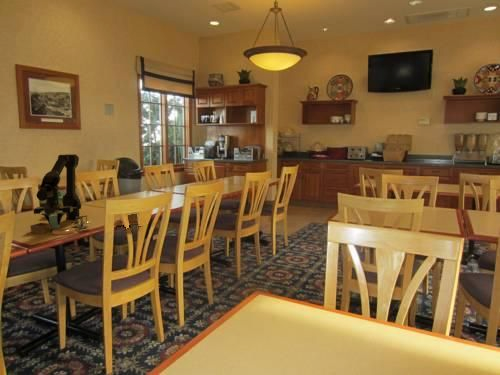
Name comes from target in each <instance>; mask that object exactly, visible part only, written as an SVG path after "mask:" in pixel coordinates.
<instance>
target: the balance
mask: <svg viewBox="0 0 500 375" xmlns="http://www.w3.org/2000/svg"><path fill="white" fill-rule="evenodd" d="M77 218H79V219H77ZM83 218H85V219H86V220H85V221H83V220H84V219H83ZM87 224H88V225H89V224H92V221H91V220H88V215H81V216H80V215H79V217H76V219H75V220H74V222H72V223H71V225H72V226H76V228H78V229H81V230H82V229H87V228H88V227H89V226H88V225H87Z"/></svg>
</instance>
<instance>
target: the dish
mask: <svg viewBox="0 0 500 375" xmlns="http://www.w3.org/2000/svg"><path fill="white" fill-rule="evenodd" d="M51 231H52V232H51V233H52V234H53V235H56V236H63V235H70V234H73V233H75V232H76V228H74V227H59V228H55V229H53V230H51Z"/></svg>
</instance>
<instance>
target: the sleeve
mask: <svg viewBox="0 0 500 375" xmlns="http://www.w3.org/2000/svg"><path fill="white" fill-rule="evenodd" d="M51 231H52V229H51V224H49V223H48V222H46V223H45V222H39V223H34V224H31V225H30V233H31V234H37V235H42V234H45V233H49V232H51Z"/></svg>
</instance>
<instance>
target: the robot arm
mask: <svg viewBox="0 0 500 375" xmlns="http://www.w3.org/2000/svg"><path fill="white" fill-rule="evenodd" d="M79 161H80V157H79V156H78V154H74V153H72V154H71V153H70V154H69V153H67V154H59V155H58V156H57V160H56V161H55V162H54V165H53V167H52V168H51V170H50V171H48V172H46V173H45V175H43V177H42V180H41V183H40V187H39V190H38V191H37V193H36V195H35V196H36V198H37V200H38V201H41V202H42V201H43V202H46V203H45V204H44V206H37V207H35V208H34V209H33V214H34V215H37V214H38V215H40V214H41V216H44V217H45V219H46V220H47V223H48V224H49V216H50V215H51V214H50V213H54V212H55V211H59V213H58V214H57V215H58V225H59V224H61V221H62V218H63V216H64V215H66V217H65V219H67V220H70V221H75V220H76V217H79V216H80V210H81V209H82V204H81V202H80V201H79V196H78V194H77V193H76V169H77V167H78V165H79ZM64 169H66V170H65V171H66V173H65V174H66V175H65V176H66V177H65V181H66V190H65V192H66V193H65V194H64V195H62V196H63V208H59V207H60V205H59V198H58V191H59V189H60V186H59V184H60V182H61V174H62V172H63V170H64ZM64 213H65V214H64ZM63 214H64V215H63ZM77 220H80V218H77Z"/></svg>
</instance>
